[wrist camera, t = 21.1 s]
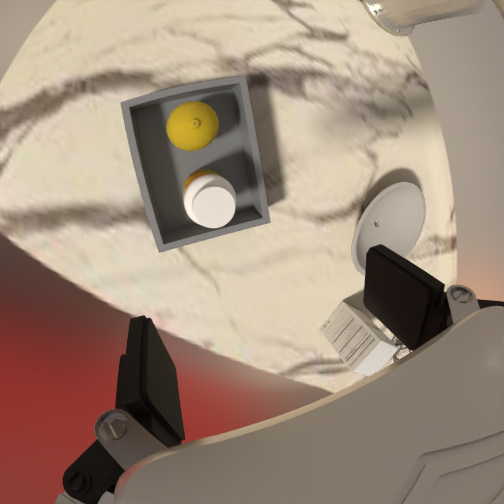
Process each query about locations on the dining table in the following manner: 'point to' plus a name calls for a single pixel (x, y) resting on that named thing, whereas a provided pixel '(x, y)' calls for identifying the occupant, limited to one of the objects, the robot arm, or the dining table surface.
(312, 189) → the dining table surface
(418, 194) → the dish
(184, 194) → the supplement bottle
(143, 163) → the tote
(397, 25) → the robot arm
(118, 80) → the dining table surface
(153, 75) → the dining table surface
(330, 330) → the supplement box
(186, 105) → the lemon
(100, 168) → the dining table surface
